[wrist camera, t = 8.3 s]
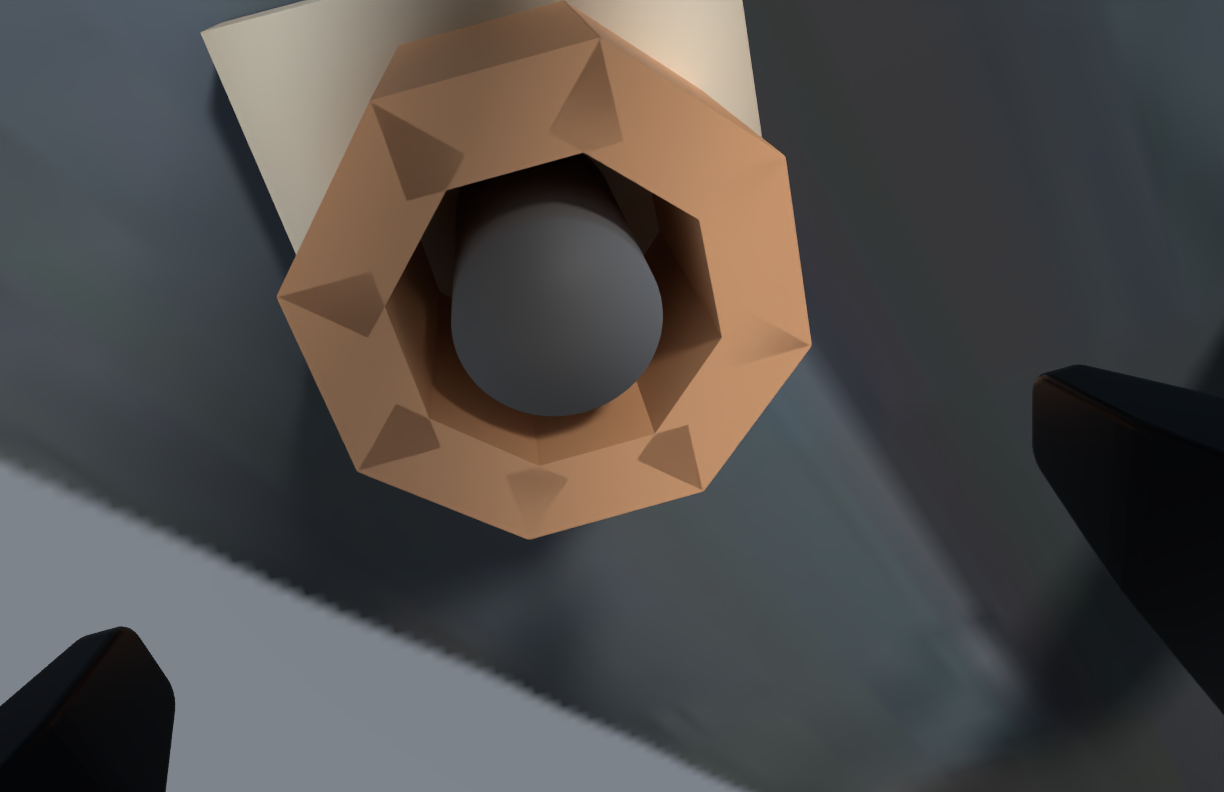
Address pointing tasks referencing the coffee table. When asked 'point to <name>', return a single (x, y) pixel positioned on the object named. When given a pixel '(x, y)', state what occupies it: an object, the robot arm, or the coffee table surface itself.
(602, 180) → the shaft block
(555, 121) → the ring
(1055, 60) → the coffee table surface
